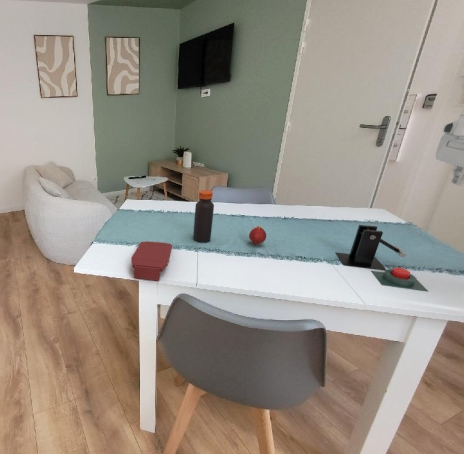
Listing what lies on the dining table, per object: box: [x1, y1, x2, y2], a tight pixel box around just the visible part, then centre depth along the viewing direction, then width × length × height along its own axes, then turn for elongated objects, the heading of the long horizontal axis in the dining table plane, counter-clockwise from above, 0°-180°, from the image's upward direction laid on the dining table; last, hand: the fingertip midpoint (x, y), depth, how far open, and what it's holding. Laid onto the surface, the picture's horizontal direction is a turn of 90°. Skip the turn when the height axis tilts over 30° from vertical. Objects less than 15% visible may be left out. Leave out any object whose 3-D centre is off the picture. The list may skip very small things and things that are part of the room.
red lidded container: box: [130, 240, 173, 282], centre depth 104 cm, size 12×5×25 cm
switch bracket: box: [335, 224, 387, 272], centre depth 93 cm, size 11×9×13 cm
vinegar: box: [192, 189, 215, 243], centre depth 114 cm, size 7×7×20 cm
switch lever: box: [360, 227, 407, 258], centre depth 91 cm, size 12×5×2 cm, turn 68°
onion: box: [248, 225, 267, 246], centre depth 110 cm, size 6×6×8 cm
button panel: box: [370, 268, 429, 293], centre depth 84 cm, size 10×8×3 cm
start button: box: [391, 267, 411, 279], centre depth 84 cm, size 4×4×2 cm
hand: (458, 184), depth 75 cm, fingers closed
